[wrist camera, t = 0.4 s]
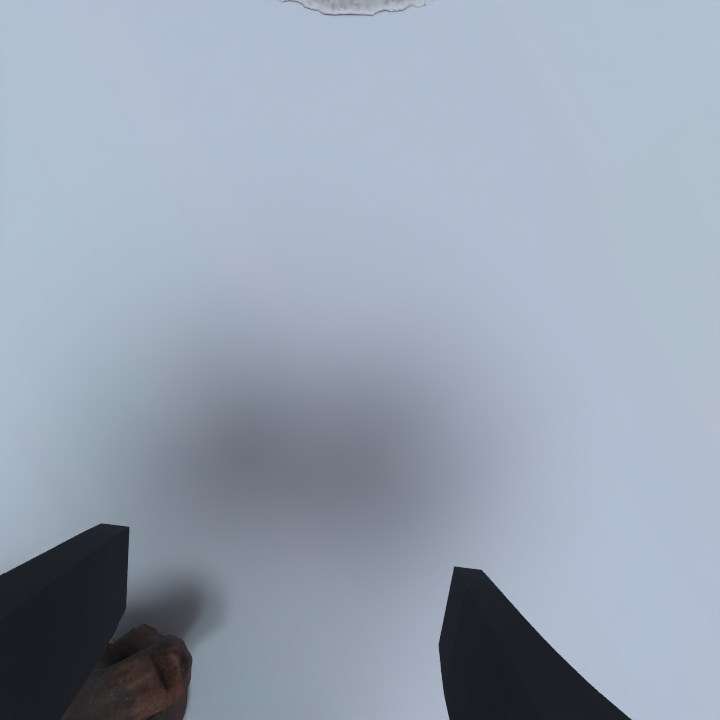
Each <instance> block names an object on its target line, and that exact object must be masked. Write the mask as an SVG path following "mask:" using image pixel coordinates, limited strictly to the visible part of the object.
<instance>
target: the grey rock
mask: <svg viewBox="0 0 720 720" xmlns="http://www.w3.org/2000/svg"><path fill="white" fill-rule="evenodd" d="M280 1H282V2H284V1H288V0H280ZM289 1H290V0H289ZM292 1H295V2H300V3H302V4H303V5H304V7H306V8H310V9H312V10H318V11H320V12H322V13H324V14H333V15H338V14H359V15H363V14H366V15H371V16H373V15H374V14H375V13H377V12H379V11H383V10H387V11H399V10H404V9H406V8H407V7H410V6H414V7H421V6H424V5H426V4H425V0H292Z"/></svg>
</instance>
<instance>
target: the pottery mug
mask: <svg viewBox="0 0 720 720" xmlns="http://www.w3.org/2000/svg"><path fill="white" fill-rule="evenodd" d="M191 666H192V656H191V654H190V653H189V651H188V649H187V647H186V645H185V642H184V641H183V640H182V639H179V638H177V637H175V636H173V635H169V636H161V635H160V634H159V633H158V632H157V631H156V630H155V629H153V628H151V627H150V626H148V625H145V624H142V625H140V626H139V627H138V628H136V629H132V630H131V631H129V632H128V633H127V634H125V635H124V636H123V637H121V638H119V639H118V640H117V641H115V642H114V643H112V644H109V643H108V645H107V647H106V649H105V651H104V653H103V655H102V656H101V658H100V660H99V661H98V663H97V664H96V666H95V667H94V669H93V671H92V672H91V674H90V675H89V677H88V678H87V680H86V681H85V683H84V684H83V686H82V687H81V689H80V691H79V692H78V694H77V695H76V697H75V698H74V700H73V701H72V703H71V704H70V706H69V707H68V709H67V710H66V712H65V713H64V715H63V716H62V718H61V719H60V720H183V717H184V714H185V709H186V705H187V687H188V685H189V683H190V679H191Z"/></svg>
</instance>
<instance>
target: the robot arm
mask: <svg viewBox="0 0 720 720" xmlns="http://www.w3.org/2000/svg"><path fill="white" fill-rule="evenodd" d="M128 547H129V527H126V526H118V525H110V524H99V525H97V526H95V527H93V528H91V529H88V530H86V531H84V532H83V533H81V534H79V535H77V536H75V537H73V538H71V539H69V540H67V541H65V542H63V543H62V544H60V545H58V546H56V547H54V548H52V549H50V550H48V551H47V552H45V553H43V554H41V555H39V556H37V557H35V558H33V559H31V560H29V561H27V562H25V563H24V564H22V565H20V566H18V567H16V568H14V569H12V570H10V571H8V572H6V573H4V574H2V575H0V720H60V719H61V718H62V716H63V715H64V713H65V712H66V710H67V709H68V707H69V706H70V704H71V703H72V701H73V700H74V698H75V697H76V695H77V694H78V692H79V691H80V689H81V687H82V686H83V684H84V683H85V681H86V680H87V678H88V677H89V675H90V674H91V672H92V671H93V669H94V667H95V666H96V664H97V663H98V661H99V660H100V658H101V656H102V655H103V653H104V651H105V649H106V647H107V645H108V643H109V641H110V640H111V638H112V636H113V634H114V632H115V630H116V628H117V626H118V623H119V621H120V619H121V617H122V615H123V613H124V611H125V609H126V595H127V571H128ZM439 653H440V663H441V673H442V682H443V690H444V696H445V701H446V706H447V710H448V715H449V719H450V720H631V719H630V718H629V717H628V716H626V715H625V714H624V713H623V712H622V711H621V710H619V709H618V708H617V707H616V706H615V705H614V704H612V703H611V702H610V701H609V700H608V699H607V698H605V697H604V696H603V695H602V694H601V693H599V692H598V691H597V690H596V689H595V688H594V687H593V686H592V685H591V684H589V683H588V682H587V681H586V680H585V679H584V678H583V677H582V676H581V675H580V674H579V673H578V672H577V671H576V670H575V669H574V668H573V667H572V666H571V665H570V664H569V663H567V662H566V661H565V660H564V659H563V658H562V657H561V656H560V655H559V654H558V653H557V652H556V651H555V650H554V649H553V648H552V647H551V646H550V645H549V644H548V643H547V641H546V640H545V639H544V638H543V637H542V636H541V635H540V634H539V633H538V632H537V631H536V630H535V629H534V628H533V627H532V626H531V624H530V623H529V622H528V621H527V620H526V619H525V618H524V617H523V616H522V615H521V613H520V612H519V611H518V610H517V609H516V608H515V607H514V606H513V605H512V603H511V602H510V601H509V600H508V599H507V598H506V597H505V595H504V594H503V593H502V592H501V591H500V590H499V589H498V588H497V586H496V585H495V584H494V583H493V582H492V581H491V580H490V579H489V577H488V576H487V575H486V574H485V573H484V572H483V571H482V570H478V569H470V568H462V567H454V571H453V576H452V581H451V586H450V591H449V596H448V601H447V606H446V611H445V616H444V621H443V626H442V631H441V636H440V641H439Z"/></svg>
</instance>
